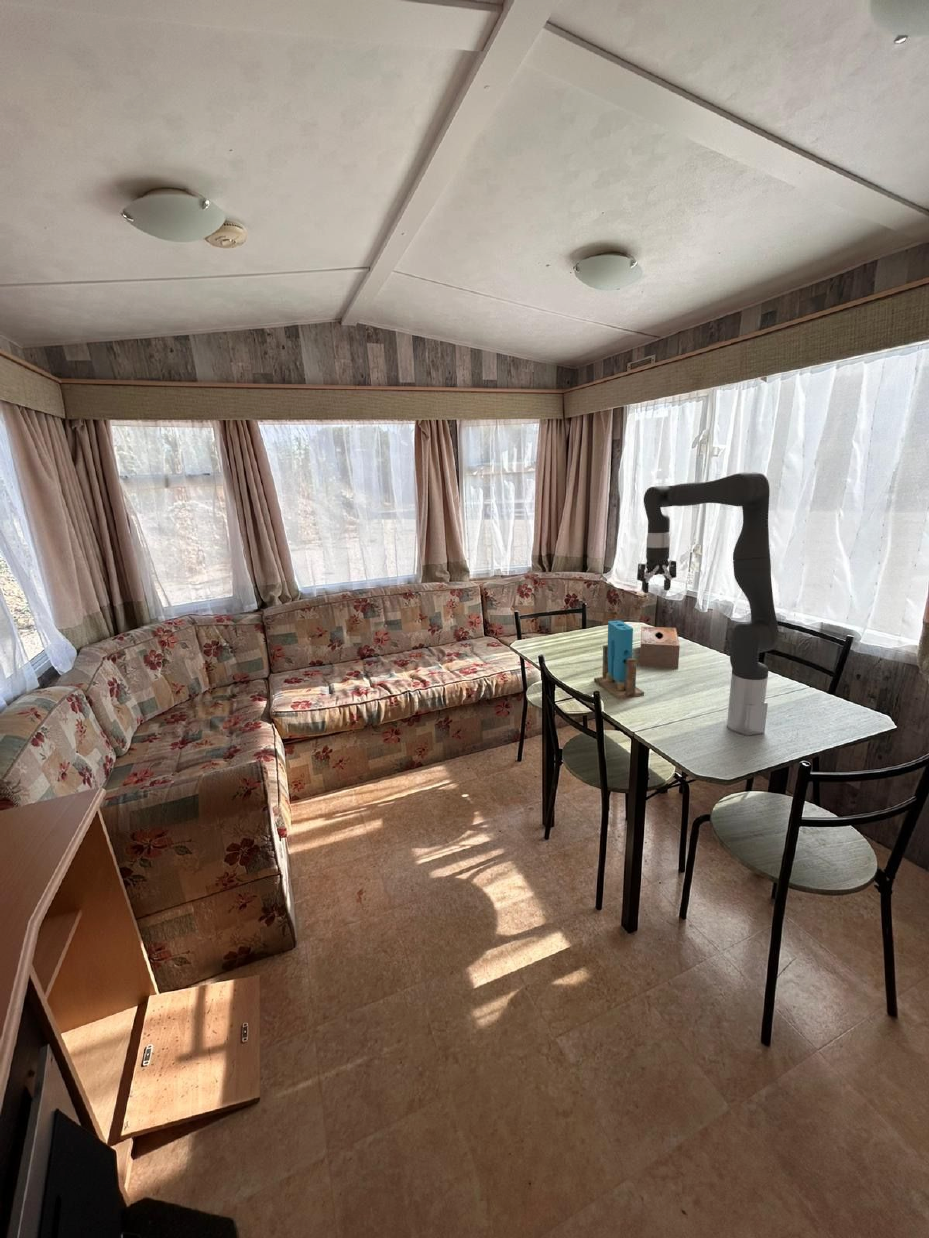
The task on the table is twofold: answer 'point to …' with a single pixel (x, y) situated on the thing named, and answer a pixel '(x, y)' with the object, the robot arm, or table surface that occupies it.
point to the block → (619, 649)
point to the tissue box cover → (659, 647)
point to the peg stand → (619, 688)
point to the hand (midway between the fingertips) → (656, 591)
